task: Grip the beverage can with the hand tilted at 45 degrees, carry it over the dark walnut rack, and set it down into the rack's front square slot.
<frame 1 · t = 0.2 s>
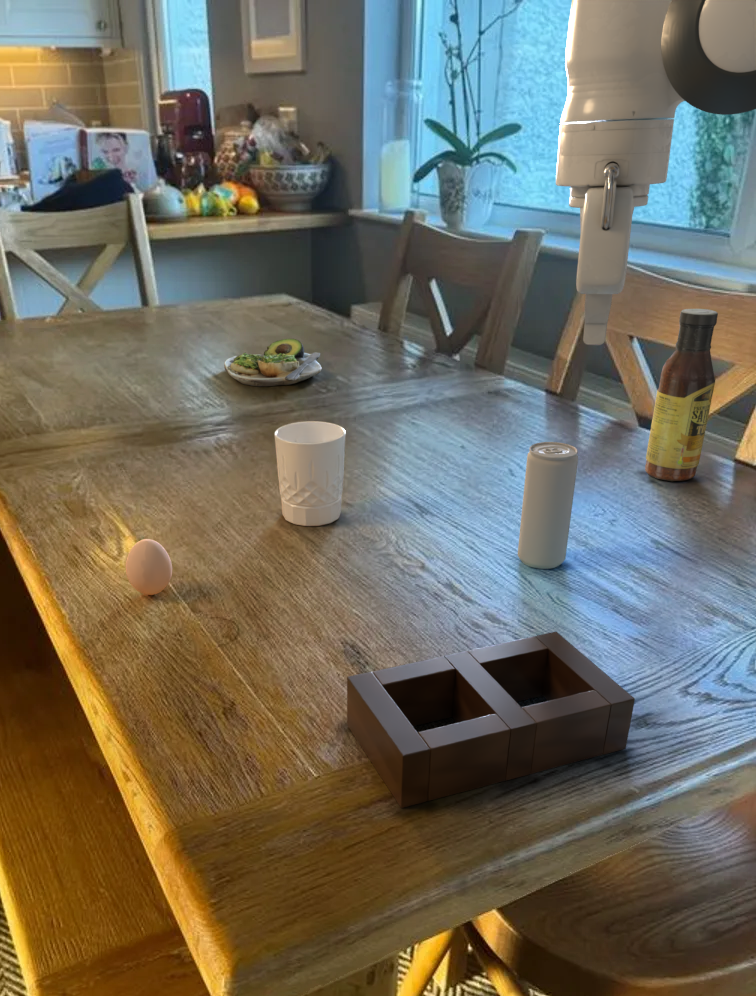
hand: (594, 333, 81), 23 cm above the table, tool pointing down, fingers open, 8 cm apart
beverage can: (540, 562, 93), on the table
sauce bottle: (669, 475, 113), on the table
rack: (482, 736, 68), on the table
egg: (152, 594, 89), on the table
white cup: (311, 516, 105), on the table
avocado toast plate: (274, 374, 160), on the table
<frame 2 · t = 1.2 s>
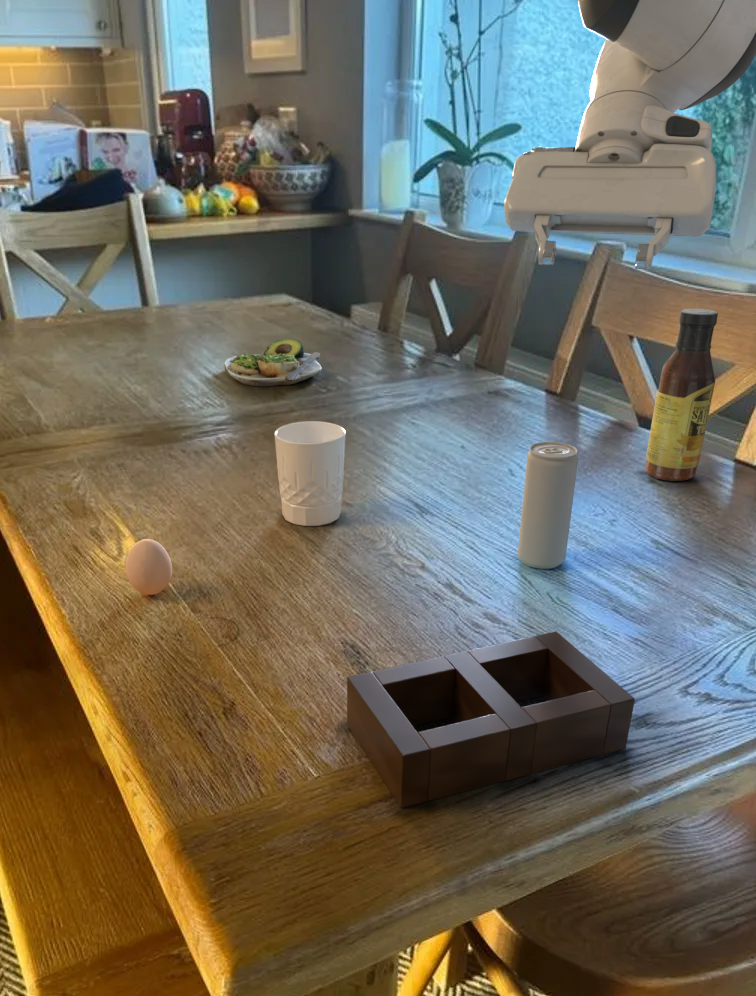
hand: (593, 263, 90), 27 cm above the table, tool tilted 45°, fingers open, 8 cm apart
nothing on the table moved.
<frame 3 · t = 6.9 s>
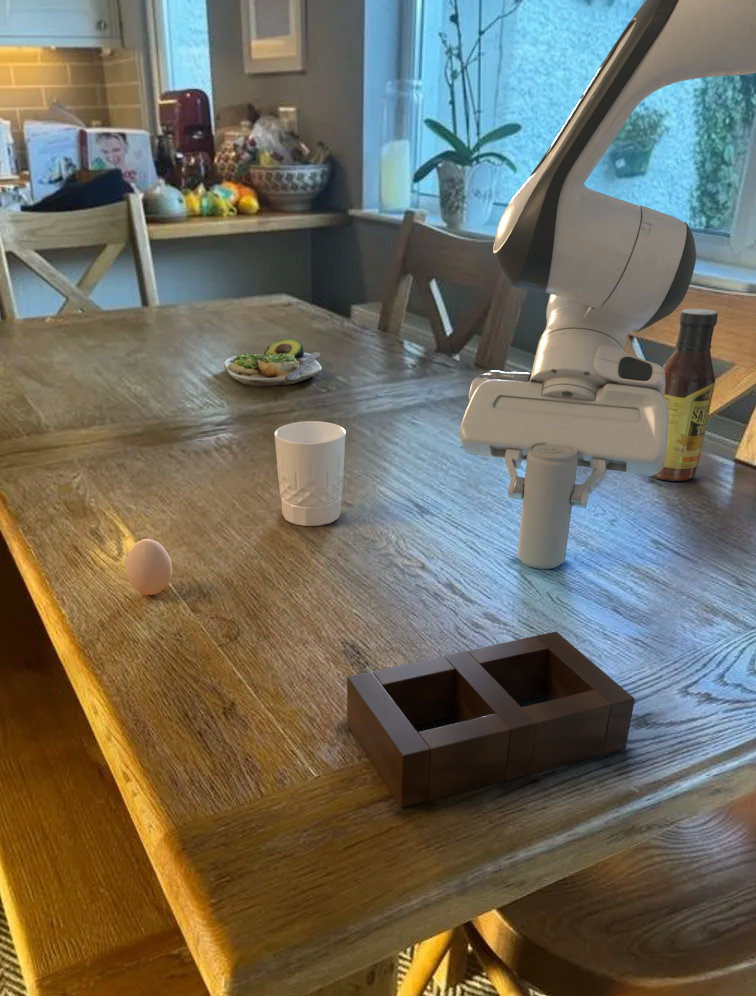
hand: (546, 501, 89), 7 cm above the table, tool tilted 45°, fingers closed on beverage can, 5 cm apart
beverage can: (540, 562, 93), on the table, touching gripper
everything else where it was.
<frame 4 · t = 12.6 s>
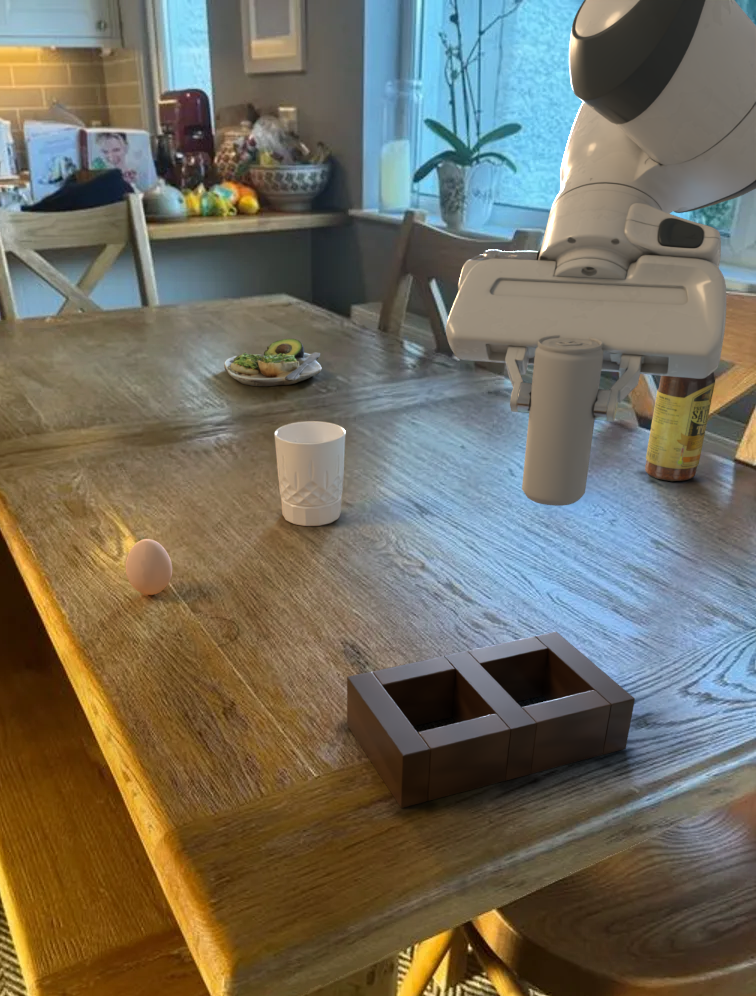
hand: (561, 413, 67), 21 cm above the table, tool tilted 45°, fingers closed on beverage can, 5 cm apart
beverage can: (552, 498, 71), point 14 cm above the table, touching gripper
everything else where it was.
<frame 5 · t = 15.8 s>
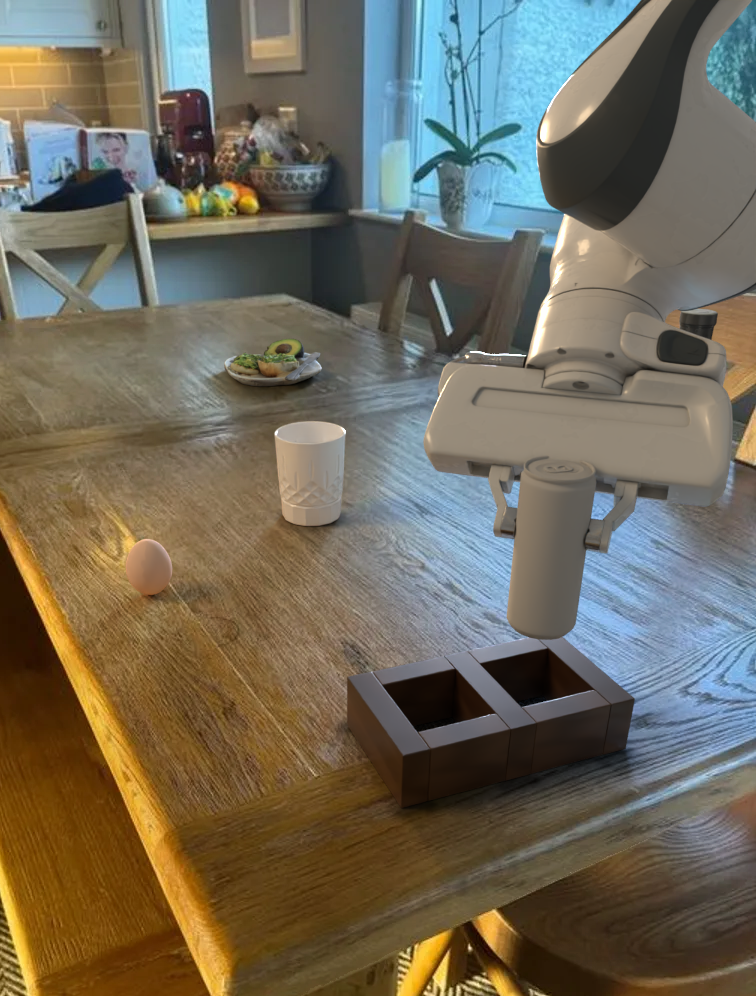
hand: (549, 542, 61), 16 cm above the table, tool tilted 45°, fingers closed on beverage can, 5 cm apart
beverage can: (539, 628, 65), point 9 cm above the table, touching gripper
everything else where it was.
when the fingers open (7 cm above the table, at t = 18.6 s): beverage can stays where it is, resting in rack.
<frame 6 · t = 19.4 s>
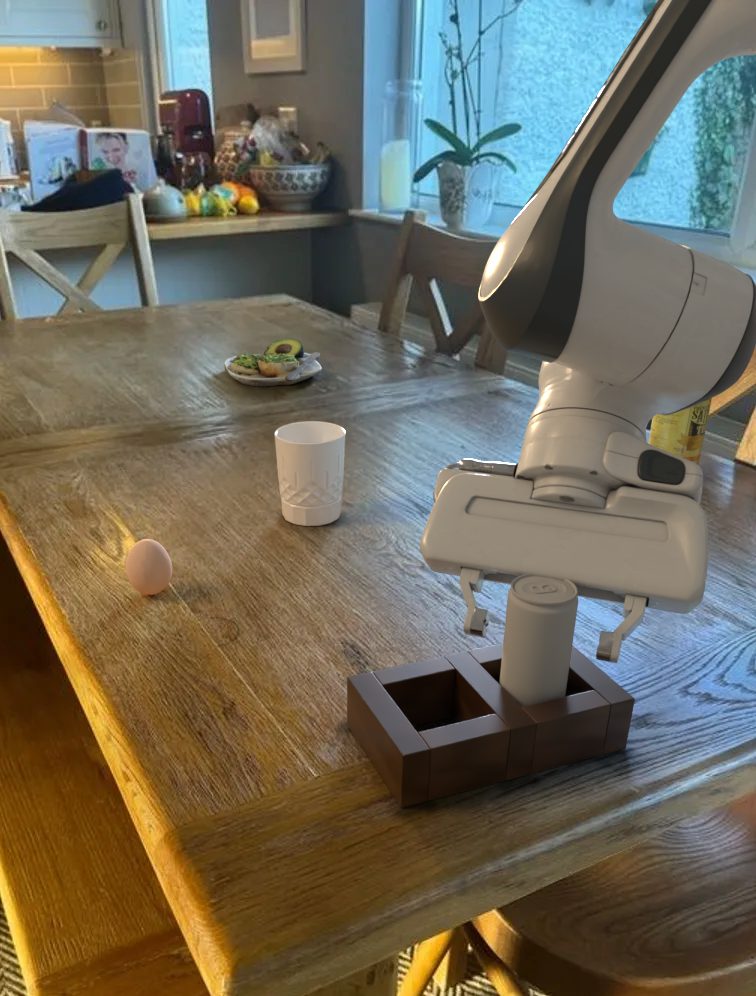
hand: (538, 646, 65), 7 cm above the table, tool tilted 45°, fingers open, 8 cm apart
beverage can: (527, 728, 69), resting in rack
everything else where it was.
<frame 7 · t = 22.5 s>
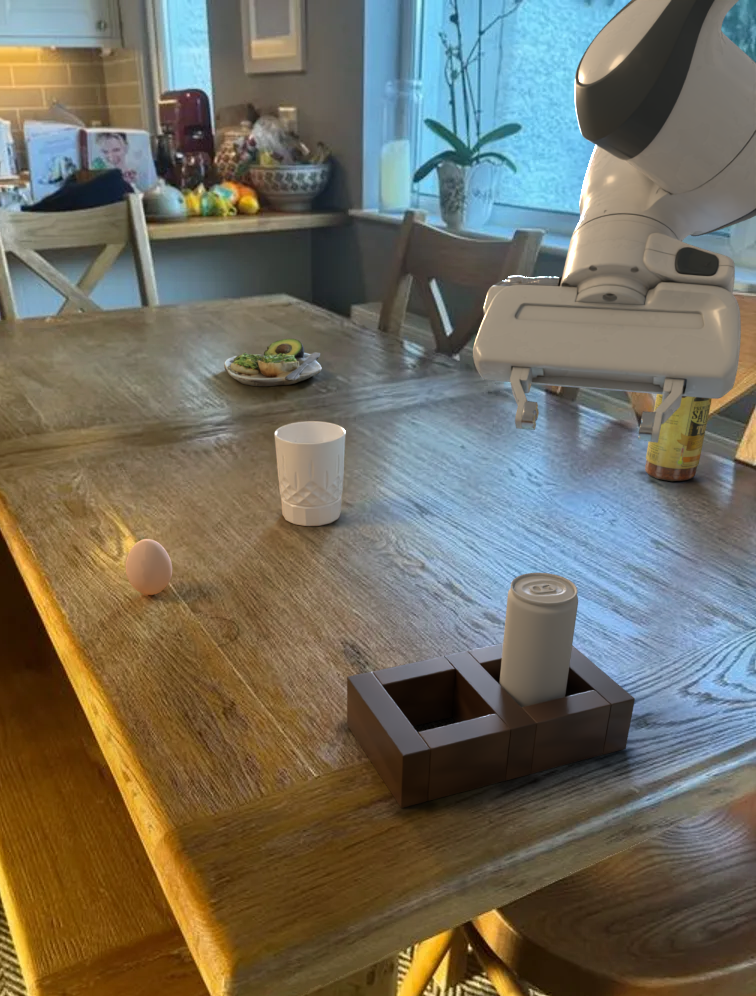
hand: (584, 432, 71), 19 cm above the table, tool tilted 45°, fingers open, 8 cm apart
nothing on the table moved.
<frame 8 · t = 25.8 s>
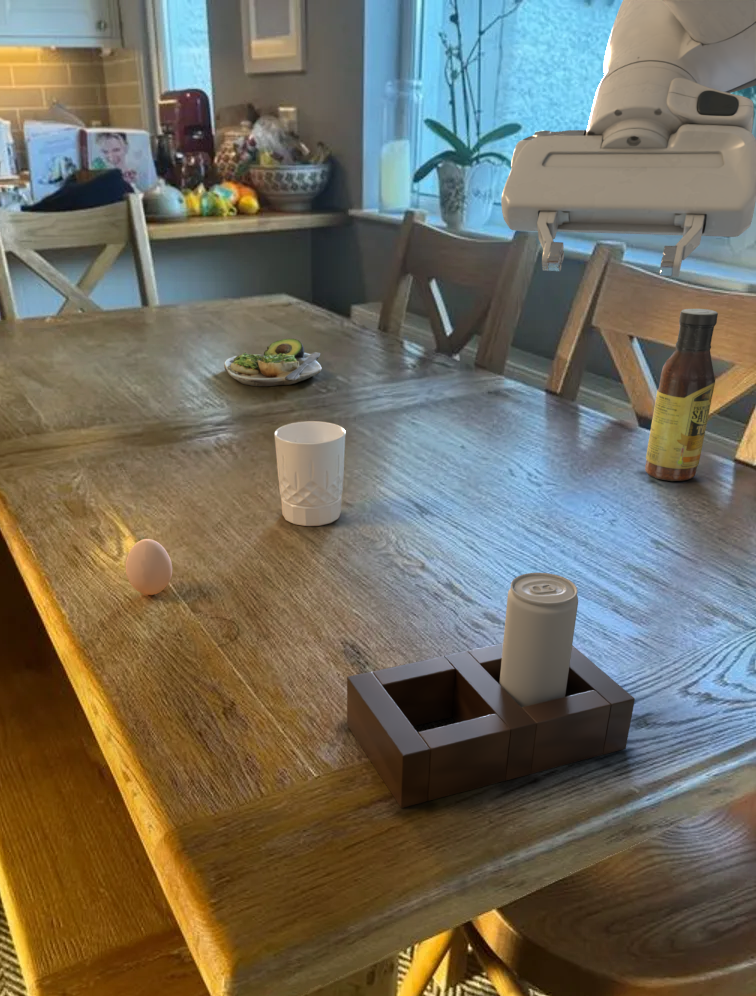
hand: (608, 269, 74), 29 cm above the table, tool tilted 45°, fingers open, 8 cm apart
nothing on the table moved.
at the end: beverage can 0.2 cm from the target spot in the rack, point 0.0 cm above the rack's base; beverage can tilted 0°; the gripper is holding nothing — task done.
